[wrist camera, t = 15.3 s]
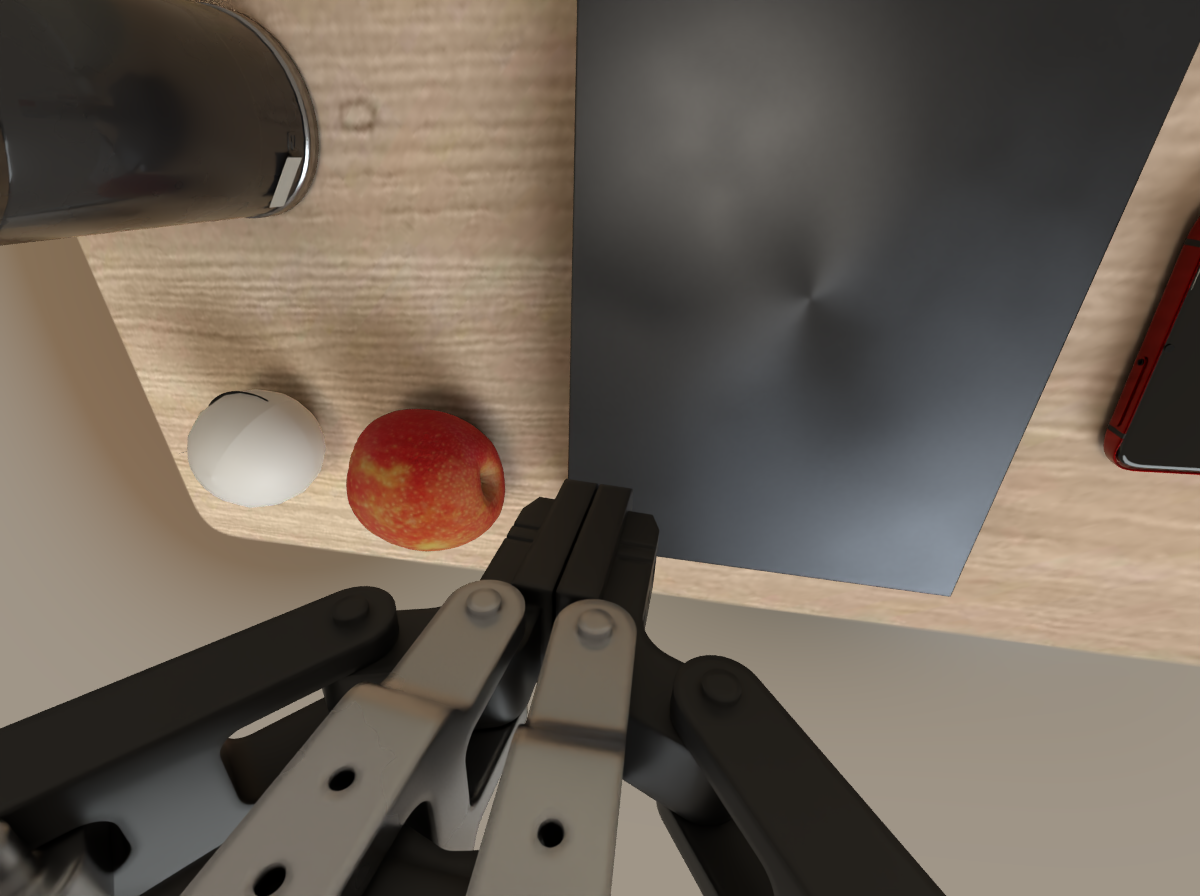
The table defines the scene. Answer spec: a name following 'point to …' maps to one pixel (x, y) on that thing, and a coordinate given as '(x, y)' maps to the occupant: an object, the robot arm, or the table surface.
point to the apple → (425, 480)
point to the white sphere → (255, 448)
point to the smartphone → (1164, 381)
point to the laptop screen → (842, 258)
